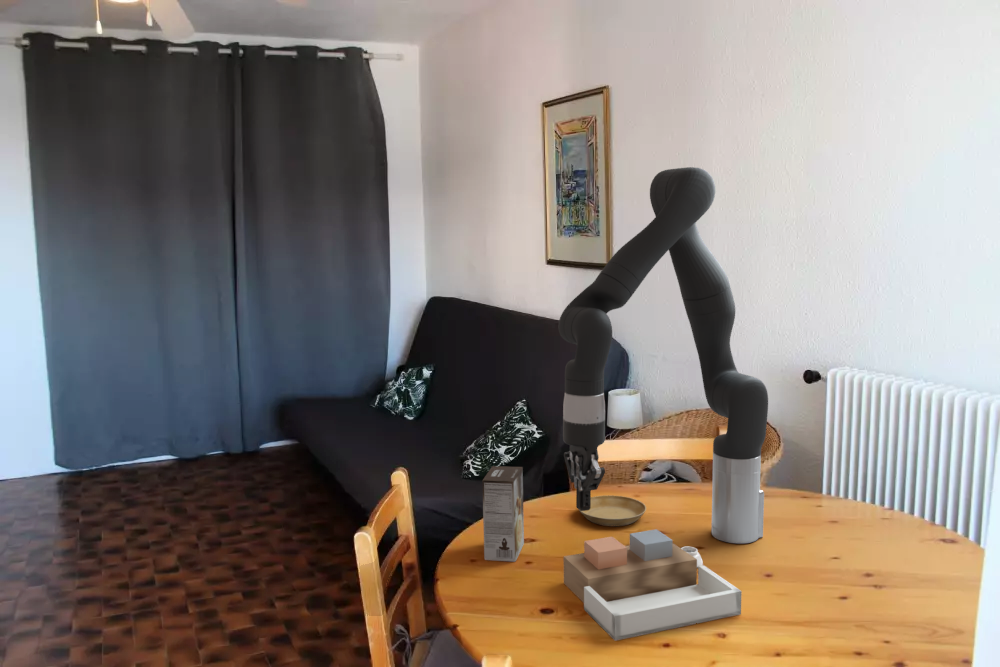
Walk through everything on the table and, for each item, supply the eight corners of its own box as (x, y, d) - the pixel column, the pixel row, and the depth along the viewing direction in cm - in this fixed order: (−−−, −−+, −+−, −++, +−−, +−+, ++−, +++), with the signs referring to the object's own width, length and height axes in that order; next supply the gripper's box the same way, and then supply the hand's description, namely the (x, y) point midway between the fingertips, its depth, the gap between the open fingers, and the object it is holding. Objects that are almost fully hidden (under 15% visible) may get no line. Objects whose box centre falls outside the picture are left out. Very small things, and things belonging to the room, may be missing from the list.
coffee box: (493, 542, 169) (491, 464, 167) (524, 543, 168) (523, 466, 166) (483, 560, 160) (481, 479, 158) (516, 562, 159) (515, 480, 157)
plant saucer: (581, 504, 191) (581, 493, 190) (647, 507, 188) (647, 496, 187) (573, 528, 176) (573, 516, 176) (645, 532, 173) (645, 520, 173)
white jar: (681, 571, 154) (707, 568, 155) (682, 556, 154) (707, 553, 155) (670, 560, 159) (695, 557, 160) (671, 545, 159) (695, 543, 160)
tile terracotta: (612, 552, 151) (612, 536, 150) (626, 564, 146) (627, 547, 145) (584, 557, 149) (584, 541, 148) (598, 569, 144) (598, 552, 143)
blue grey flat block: (656, 544, 154) (656, 529, 153) (672, 556, 149) (672, 540, 148) (629, 549, 152) (629, 533, 151) (644, 561, 147) (644, 544, 146)
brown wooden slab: (666, 564, 157) (666, 538, 156) (696, 586, 148) (696, 559, 147) (563, 583, 150) (563, 556, 149) (588, 607, 141) (588, 578, 140)
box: (702, 586, 148) (703, 564, 147) (740, 614, 137) (741, 591, 137) (584, 609, 140) (584, 586, 139) (614, 640, 130) (615, 616, 129)
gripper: (620, 423, 147) (618, 518, 149) (586, 407, 159) (586, 495, 162) (580, 427, 144) (580, 524, 147) (550, 410, 157) (550, 500, 159)
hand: (583, 509), depth 154 cm, fingers closed
